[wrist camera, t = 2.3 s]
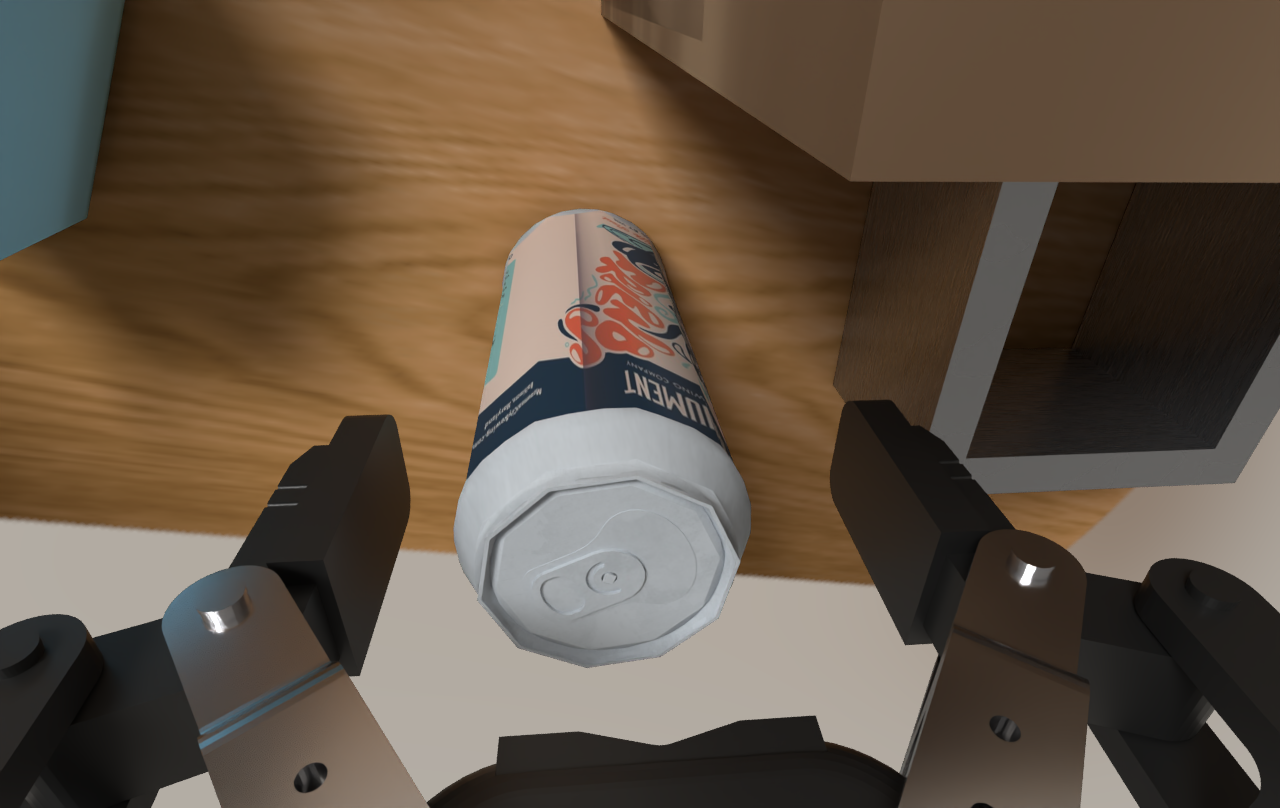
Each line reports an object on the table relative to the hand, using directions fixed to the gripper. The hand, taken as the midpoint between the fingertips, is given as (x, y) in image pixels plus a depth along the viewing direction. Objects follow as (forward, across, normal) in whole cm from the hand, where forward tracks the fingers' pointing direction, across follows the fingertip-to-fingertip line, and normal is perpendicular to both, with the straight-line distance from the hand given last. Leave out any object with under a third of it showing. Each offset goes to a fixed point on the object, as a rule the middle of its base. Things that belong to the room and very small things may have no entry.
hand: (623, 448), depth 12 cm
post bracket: (+9, -12, 0) cm, 16 cm away
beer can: (+9, +1, 0) cm, 9 cm away
